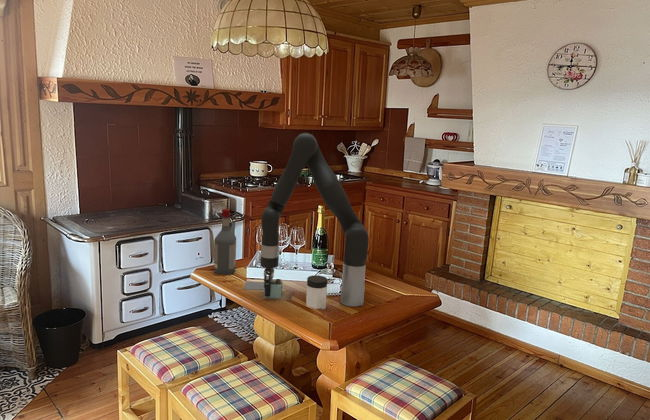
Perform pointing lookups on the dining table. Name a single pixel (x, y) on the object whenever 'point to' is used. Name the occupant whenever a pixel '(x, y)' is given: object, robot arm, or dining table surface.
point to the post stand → (283, 296)
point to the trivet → (254, 285)
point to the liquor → (225, 248)
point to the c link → (274, 290)
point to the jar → (316, 292)
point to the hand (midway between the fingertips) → (268, 292)
